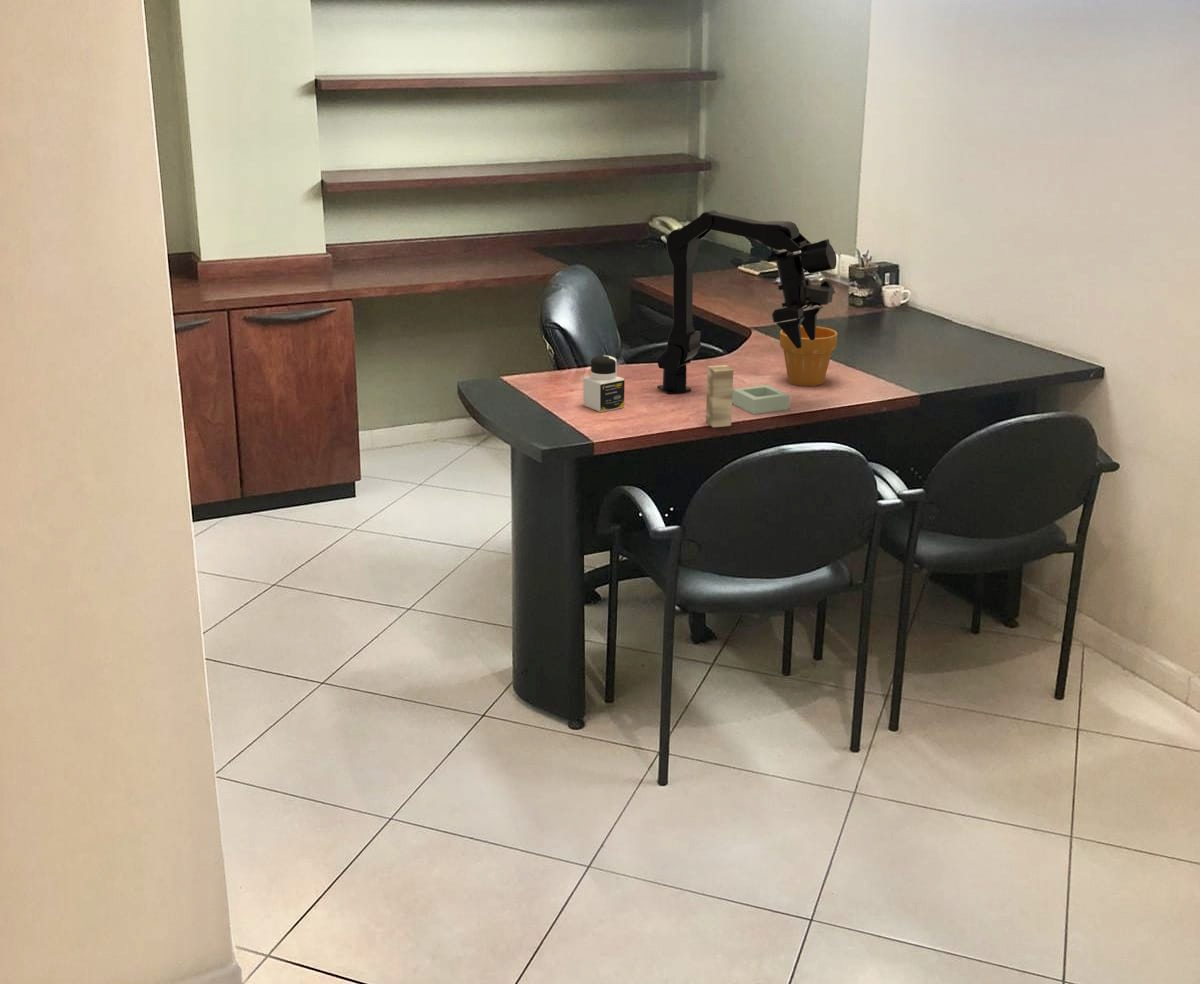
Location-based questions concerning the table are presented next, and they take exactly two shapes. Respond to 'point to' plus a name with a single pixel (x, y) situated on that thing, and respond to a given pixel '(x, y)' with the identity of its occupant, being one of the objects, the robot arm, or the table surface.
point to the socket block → (760, 399)
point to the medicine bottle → (603, 385)
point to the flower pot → (808, 356)
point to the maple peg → (719, 396)
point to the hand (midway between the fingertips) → (806, 343)
